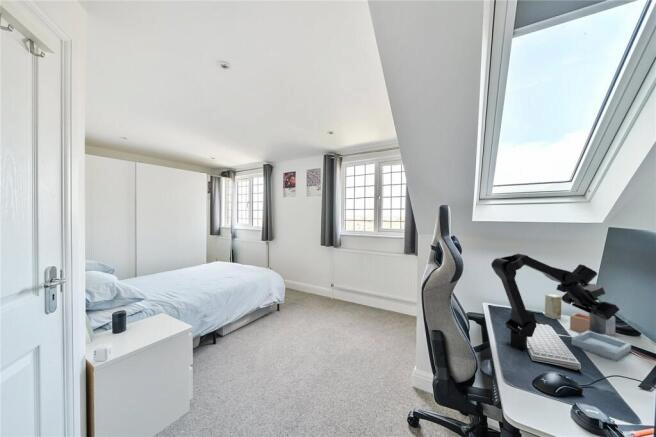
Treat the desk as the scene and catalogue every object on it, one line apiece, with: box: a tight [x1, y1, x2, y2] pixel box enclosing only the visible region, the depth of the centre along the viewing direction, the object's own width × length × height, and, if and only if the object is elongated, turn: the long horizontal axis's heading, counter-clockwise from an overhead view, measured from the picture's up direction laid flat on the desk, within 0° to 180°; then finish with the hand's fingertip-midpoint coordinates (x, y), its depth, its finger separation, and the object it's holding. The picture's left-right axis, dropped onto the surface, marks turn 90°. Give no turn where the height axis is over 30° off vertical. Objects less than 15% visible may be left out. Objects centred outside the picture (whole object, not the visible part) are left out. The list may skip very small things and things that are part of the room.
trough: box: [570, 331, 632, 362], centre depth 103 cm, size 16×13×3 cm
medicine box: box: [588, 313, 616, 336], centre depth 118 cm, size 8×4×9 cm, turn 179°
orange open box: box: [569, 312, 592, 334], centre depth 118 cm, size 7×7×7 cm
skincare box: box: [544, 293, 563, 320], centre depth 134 cm, size 6×4×12 cm
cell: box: [589, 307, 606, 336], centre depth 105 cm, size 5×5×12 cm
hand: (601, 316), depth 104 cm, fingers closed on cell, 5 cm apart
